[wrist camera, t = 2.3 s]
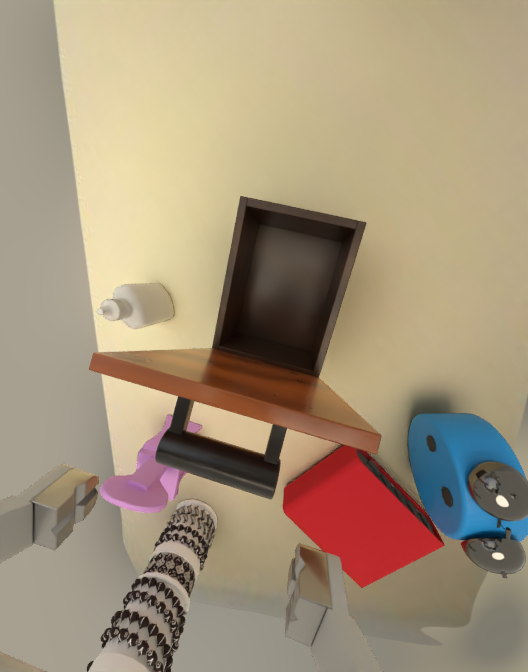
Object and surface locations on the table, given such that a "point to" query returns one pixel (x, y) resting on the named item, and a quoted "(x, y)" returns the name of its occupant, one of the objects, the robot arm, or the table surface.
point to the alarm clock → (471, 487)
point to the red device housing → (360, 515)
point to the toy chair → (146, 479)
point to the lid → (237, 410)
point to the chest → (285, 284)
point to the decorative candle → (159, 596)
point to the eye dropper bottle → (138, 305)
